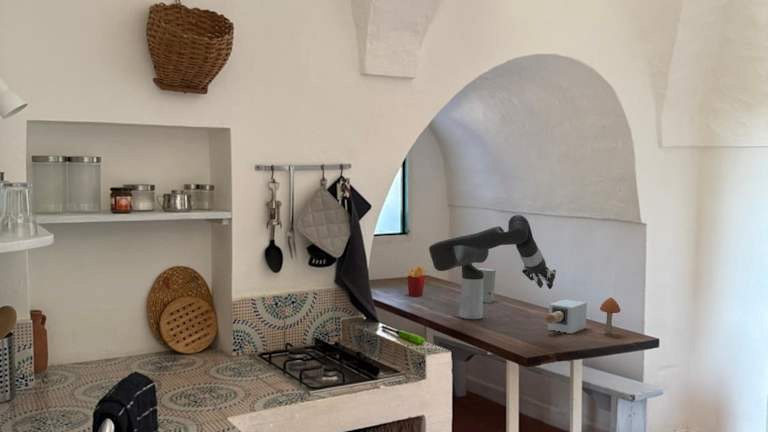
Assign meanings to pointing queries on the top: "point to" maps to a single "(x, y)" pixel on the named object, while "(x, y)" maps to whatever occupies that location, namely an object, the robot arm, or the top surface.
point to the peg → (555, 317)
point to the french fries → (416, 282)
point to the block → (569, 316)
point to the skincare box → (488, 284)
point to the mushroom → (609, 313)
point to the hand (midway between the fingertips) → (546, 286)
